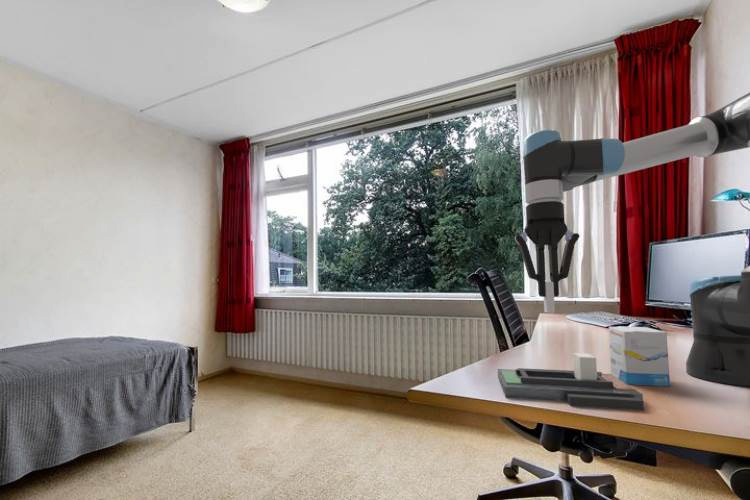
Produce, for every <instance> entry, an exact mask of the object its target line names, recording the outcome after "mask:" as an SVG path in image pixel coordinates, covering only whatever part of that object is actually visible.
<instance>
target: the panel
mask: <svg viewBox="0 0 750 500" xmlns="http://www.w3.org/2000/svg"><path fill="white" fill-rule="evenodd" d="M524 369H525V368H524ZM524 369H518V368H516V369H508V368H507V369H506V368H497V379H498V381H499V382H498V383H499V384H500V387H501V389H502V392H503V395H504V397H505V398H514V399H515V398H517V399H531V400H532V399H533V400H547V401H563V402H568V400H567V394H578V395H595V396H612V397H629V398H640V399H641V400H643V401H644V395H643V393H642V392H639V390H637V389H635V388H633V387H632V386H631V385H630V384H626V383H625V382H623V381H621V380H619V379H618V378H616V377H615V376H613V375H612V374H611V373H603V374H600V373H597V380H584V379H577V378H575V373H574V372H568V371H569V370H568V371H546V370H547V369H546V370H524Z"/></svg>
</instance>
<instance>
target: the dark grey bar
mask: <svg viewBox="0 0 750 500" xmlns="http://www.w3.org/2000/svg"><path fill="white" fill-rule="evenodd" d="M567 400H568V401H567V404H568V405H569V406H570V407H571V406H572V407H573V406H574V407H584V408H585V407H586V408H588V407H589V408H604V409H618V410H620V409H621V410H636V411H645V404H644V403H645V401H644V399H643V400H641V399H640V398H629V397H612V396H595V395H578V394H567Z"/></svg>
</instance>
